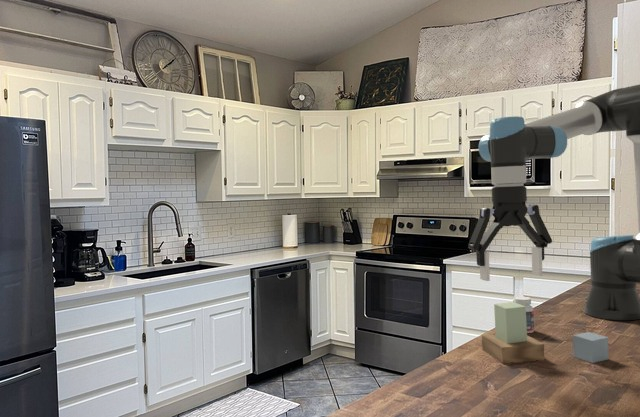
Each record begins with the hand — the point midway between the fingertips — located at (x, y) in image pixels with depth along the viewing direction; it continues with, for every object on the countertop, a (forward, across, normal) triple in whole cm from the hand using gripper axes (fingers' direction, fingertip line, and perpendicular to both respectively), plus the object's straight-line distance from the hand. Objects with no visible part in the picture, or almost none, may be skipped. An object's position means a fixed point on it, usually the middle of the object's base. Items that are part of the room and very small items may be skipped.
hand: (511, 277), depth 122 cm
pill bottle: (+18, -13, -16) cm, 28 cm away
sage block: (+14, +1, 0) cm, 15 cm away
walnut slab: (+18, 0, 0) cm, 19 cm away
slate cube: (+18, -14, +8) cm, 25 cm away
